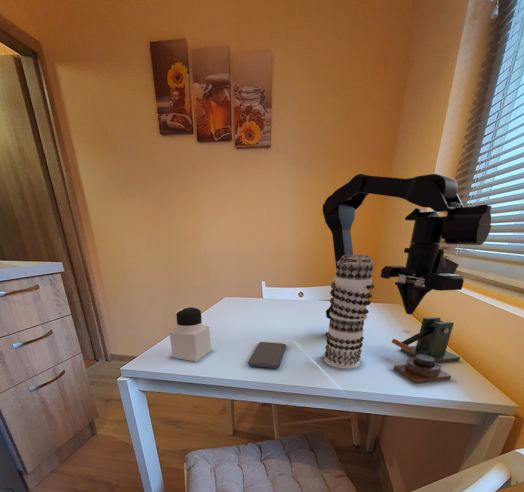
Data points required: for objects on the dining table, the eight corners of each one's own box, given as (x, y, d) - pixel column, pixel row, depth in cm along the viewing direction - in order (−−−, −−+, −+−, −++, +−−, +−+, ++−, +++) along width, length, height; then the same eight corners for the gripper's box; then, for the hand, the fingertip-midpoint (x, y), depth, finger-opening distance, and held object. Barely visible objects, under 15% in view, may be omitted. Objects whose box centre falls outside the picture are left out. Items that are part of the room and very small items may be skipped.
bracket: (425, 365, 67) (435, 327, 64) (400, 351, 75) (408, 316, 72) (459, 361, 70) (471, 324, 66) (431, 348, 78) (440, 314, 74)
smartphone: (286, 343, 77) (278, 365, 64) (286, 346, 78) (278, 369, 64) (259, 341, 79) (246, 362, 65) (259, 344, 79) (246, 366, 65)
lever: (408, 355, 67) (407, 346, 66) (392, 345, 72) (390, 338, 71) (451, 332, 67) (450, 324, 66) (432, 325, 73) (431, 317, 72)
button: (422, 369, 60) (424, 361, 59) (410, 362, 63) (412, 355, 62) (436, 367, 60) (438, 360, 60) (423, 360, 64) (425, 353, 63)
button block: (414, 385, 59) (418, 372, 57) (393, 370, 65) (395, 358, 64) (449, 380, 61) (453, 368, 59) (425, 366, 67) (428, 355, 66)
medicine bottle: (211, 351, 74) (208, 307, 69) (196, 362, 67) (192, 314, 63) (188, 347, 76) (183, 304, 71) (172, 357, 70) (166, 311, 65)
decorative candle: (345, 351, 74) (359, 253, 65) (369, 366, 66) (389, 256, 57) (315, 356, 71) (325, 254, 62) (336, 372, 64) (351, 257, 54)
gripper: (497, 245, 53) (472, 323, 59) (423, 242, 70) (410, 303, 76) (449, 245, 51) (428, 326, 57) (384, 242, 67) (374, 305, 73)
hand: (409, 314), depth 66 cm, fingers closed
